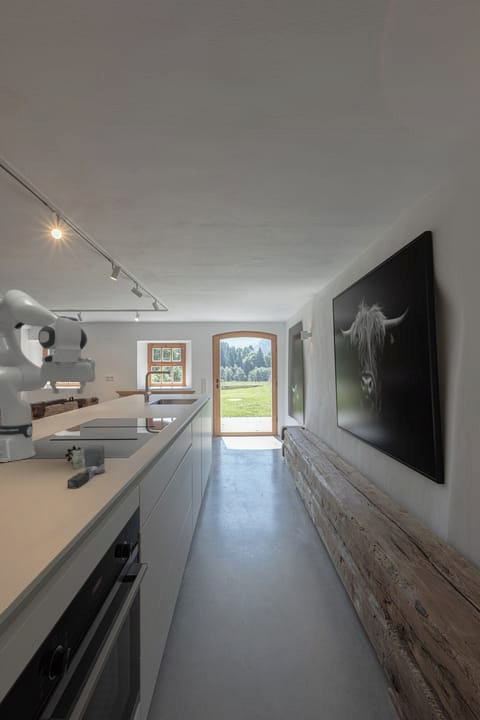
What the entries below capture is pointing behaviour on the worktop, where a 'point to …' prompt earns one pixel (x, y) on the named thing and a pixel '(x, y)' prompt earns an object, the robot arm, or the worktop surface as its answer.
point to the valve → (76, 457)
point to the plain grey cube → (94, 456)
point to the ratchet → (85, 476)
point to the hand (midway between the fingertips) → (67, 393)
